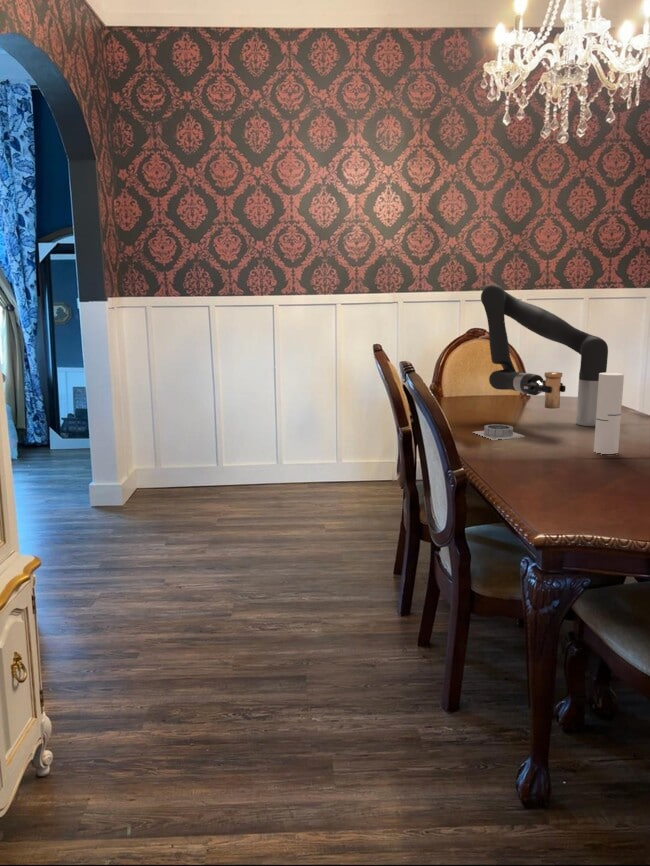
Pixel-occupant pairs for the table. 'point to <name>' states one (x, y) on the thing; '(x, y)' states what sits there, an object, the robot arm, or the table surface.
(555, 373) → the copper pipe
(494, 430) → the duct collar
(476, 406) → the table surface
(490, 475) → the table surface
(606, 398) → the cylindrical container
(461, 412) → the table surface
